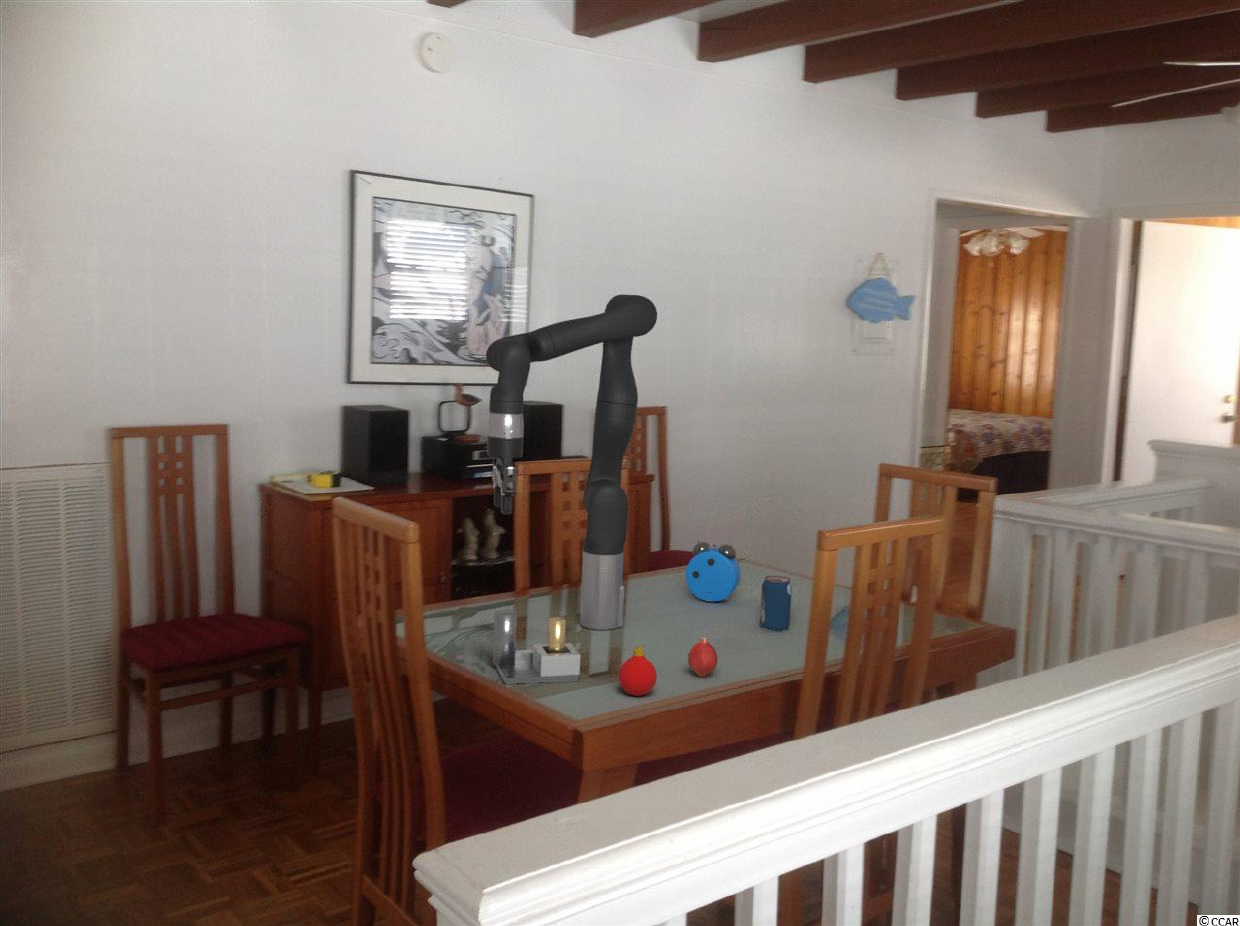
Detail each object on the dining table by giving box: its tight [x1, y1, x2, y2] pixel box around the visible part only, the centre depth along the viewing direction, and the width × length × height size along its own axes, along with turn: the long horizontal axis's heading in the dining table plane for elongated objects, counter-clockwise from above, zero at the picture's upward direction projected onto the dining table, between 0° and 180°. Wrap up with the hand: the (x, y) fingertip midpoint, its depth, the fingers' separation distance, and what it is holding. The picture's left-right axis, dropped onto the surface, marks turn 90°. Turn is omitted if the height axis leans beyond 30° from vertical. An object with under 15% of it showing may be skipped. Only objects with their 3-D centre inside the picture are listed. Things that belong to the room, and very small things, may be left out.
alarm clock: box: [685, 541, 741, 602], centre depth 275 cm, size 13×6×15 cm, turn 71°
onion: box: [687, 637, 719, 678], centre depth 213 cm, size 6×6×8 cm
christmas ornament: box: [618, 641, 658, 697], centre depth 200 cm, size 7×7×10 cm
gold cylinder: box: [547, 616, 567, 654], centre depth 209 cm, size 3×3×10 cm
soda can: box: [759, 575, 793, 631], centre depth 251 cm, size 7×7×12 cm
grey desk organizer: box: [492, 609, 581, 685], centre depth 210 cm, size 15×12×11 cm
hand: (502, 510), depth 229 cm, fingers open, 8 cm apart
